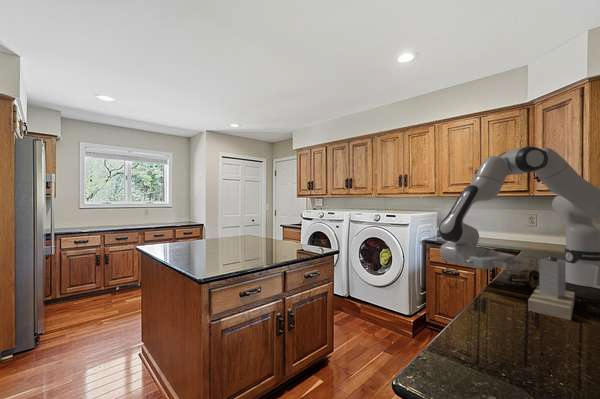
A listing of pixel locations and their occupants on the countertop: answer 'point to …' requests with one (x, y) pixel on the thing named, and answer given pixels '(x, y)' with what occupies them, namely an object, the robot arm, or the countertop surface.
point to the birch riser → (552, 305)
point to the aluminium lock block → (552, 277)
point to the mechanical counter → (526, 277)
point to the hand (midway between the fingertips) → (514, 264)
